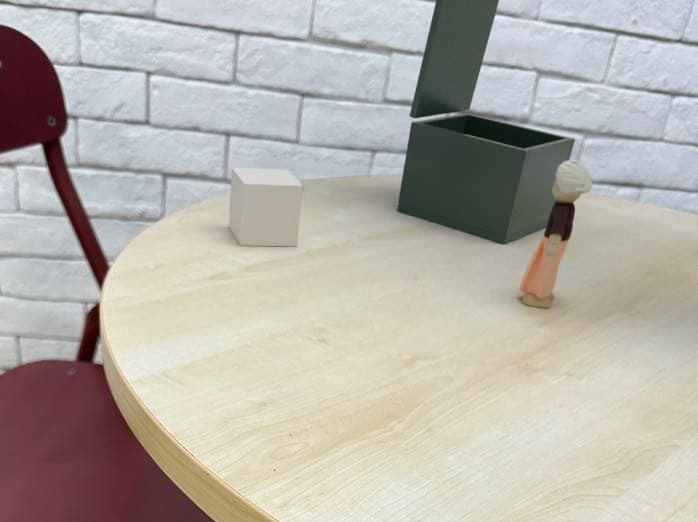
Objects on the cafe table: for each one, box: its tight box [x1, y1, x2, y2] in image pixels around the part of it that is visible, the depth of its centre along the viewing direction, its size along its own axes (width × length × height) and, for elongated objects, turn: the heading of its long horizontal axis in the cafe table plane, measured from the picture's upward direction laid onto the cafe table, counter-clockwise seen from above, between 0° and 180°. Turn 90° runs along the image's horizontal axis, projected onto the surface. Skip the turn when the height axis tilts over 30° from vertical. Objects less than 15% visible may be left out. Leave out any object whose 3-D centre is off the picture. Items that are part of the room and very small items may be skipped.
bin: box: [396, 112, 576, 245], centre depth 100 cm, size 15×13×10 cm
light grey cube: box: [228, 167, 304, 247], centre depth 87 cm, size 6×6×6 cm
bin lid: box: [409, 0, 500, 119], centre depth 96 cm, size 16×13×5 cm
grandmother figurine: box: [518, 159, 593, 309], centre depth 78 cm, size 8×4×13 cm, turn 168°
